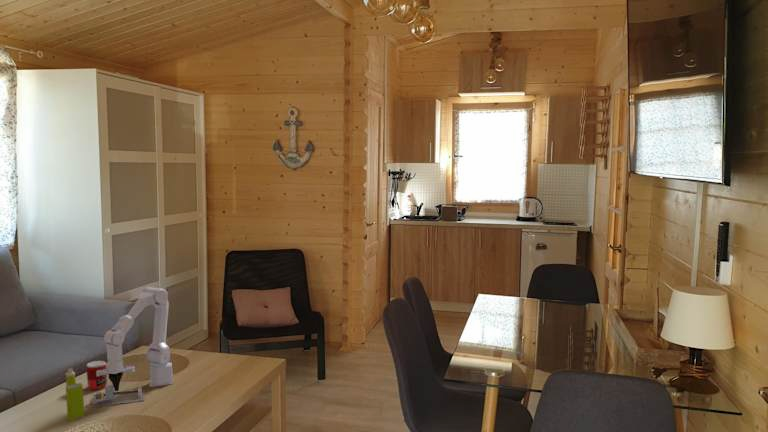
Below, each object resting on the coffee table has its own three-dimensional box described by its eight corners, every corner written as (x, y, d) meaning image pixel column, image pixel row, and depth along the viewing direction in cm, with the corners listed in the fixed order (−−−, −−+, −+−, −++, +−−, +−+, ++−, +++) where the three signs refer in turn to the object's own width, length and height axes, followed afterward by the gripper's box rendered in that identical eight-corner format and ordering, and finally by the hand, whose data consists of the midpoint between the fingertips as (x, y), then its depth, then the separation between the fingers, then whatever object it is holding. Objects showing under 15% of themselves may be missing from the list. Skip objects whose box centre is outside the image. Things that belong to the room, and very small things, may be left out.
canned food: (99, 391, 253) (98, 366, 252) (83, 390, 255) (82, 365, 254) (111, 384, 261) (109, 361, 260) (95, 383, 262) (94, 360, 261)
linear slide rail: (145, 392, 251) (144, 382, 251) (144, 400, 242) (143, 391, 242) (91, 399, 244) (91, 389, 244) (88, 408, 235) (87, 398, 235)
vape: (66, 418, 226) (62, 368, 224) (81, 413, 231) (78, 364, 229) (69, 420, 224) (66, 371, 222) (85, 415, 228) (82, 366, 227)
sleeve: (114, 396, 244) (113, 384, 244) (113, 398, 241) (112, 386, 241) (106, 397, 243) (105, 385, 243) (105, 399, 240) (104, 387, 240)
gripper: (94, 364, 235) (96, 396, 237) (133, 359, 240) (134, 391, 241) (96, 358, 242) (98, 390, 243) (134, 354, 247) (136, 385, 248)
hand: (116, 390), depth 243 cm, fingers closed
